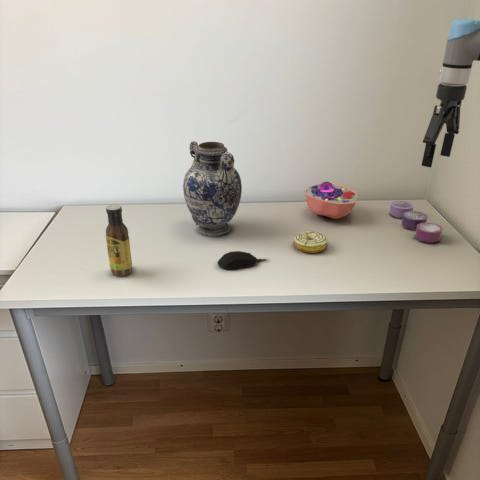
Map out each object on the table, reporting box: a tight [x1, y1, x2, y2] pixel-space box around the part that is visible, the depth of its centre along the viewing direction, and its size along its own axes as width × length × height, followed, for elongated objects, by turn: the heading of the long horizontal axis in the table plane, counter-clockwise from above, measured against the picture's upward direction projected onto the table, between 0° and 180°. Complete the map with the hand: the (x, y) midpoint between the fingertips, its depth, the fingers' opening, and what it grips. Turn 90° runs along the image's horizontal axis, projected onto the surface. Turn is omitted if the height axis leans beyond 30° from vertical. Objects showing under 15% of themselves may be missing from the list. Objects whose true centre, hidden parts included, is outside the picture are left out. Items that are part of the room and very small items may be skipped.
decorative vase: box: [182, 140, 243, 237], centre depth 164 cm, size 21×19×28 cm
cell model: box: [304, 180, 358, 220], centre depth 179 cm, size 17×20×11 cm
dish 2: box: [414, 222, 444, 244], centre depth 165 cm, size 8×8×4 cm
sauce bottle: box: [105, 203, 133, 277], centre depth 142 cm, size 6×6×20 cm
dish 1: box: [388, 199, 415, 219], centre depth 181 cm, size 8×8×4 cm
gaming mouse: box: [217, 250, 267, 270], centre depth 151 cm, size 6×15×4 cm, turn 107°
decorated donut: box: [293, 231, 329, 254], centre depth 160 cm, size 10×11×4 cm
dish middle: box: [400, 210, 429, 231], centre depth 173 cm, size 8×8×4 cm
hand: (435, 161), depth 153 cm, fingers open, 13 cm apart
